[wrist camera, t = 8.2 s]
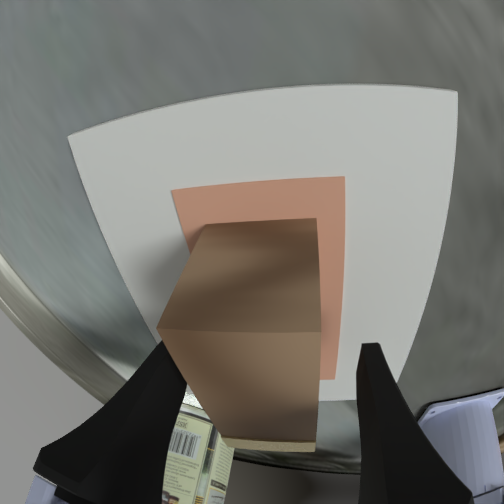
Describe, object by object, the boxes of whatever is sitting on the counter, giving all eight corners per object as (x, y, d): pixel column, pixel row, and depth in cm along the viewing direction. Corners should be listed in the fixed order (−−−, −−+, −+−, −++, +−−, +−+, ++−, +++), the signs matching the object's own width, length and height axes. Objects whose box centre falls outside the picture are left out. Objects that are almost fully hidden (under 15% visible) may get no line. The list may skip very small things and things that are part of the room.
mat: (389, 389, 18) (390, 398, 17) (189, 386, 21) (187, 394, 20) (449, 89, 8) (458, 92, 7) (76, 131, 10) (66, 137, 10)
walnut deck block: (316, 217, 11) (321, 335, 6) (318, 365, 16) (314, 453, 12) (205, 224, 11) (154, 331, 7) (245, 365, 16) (228, 448, 12)
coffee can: (164, 435, 30) (134, 539, 19) (116, 391, 24) (66, 521, 13) (251, 445, 27) (228, 565, 16) (219, 403, 22) (179, 570, 10)
